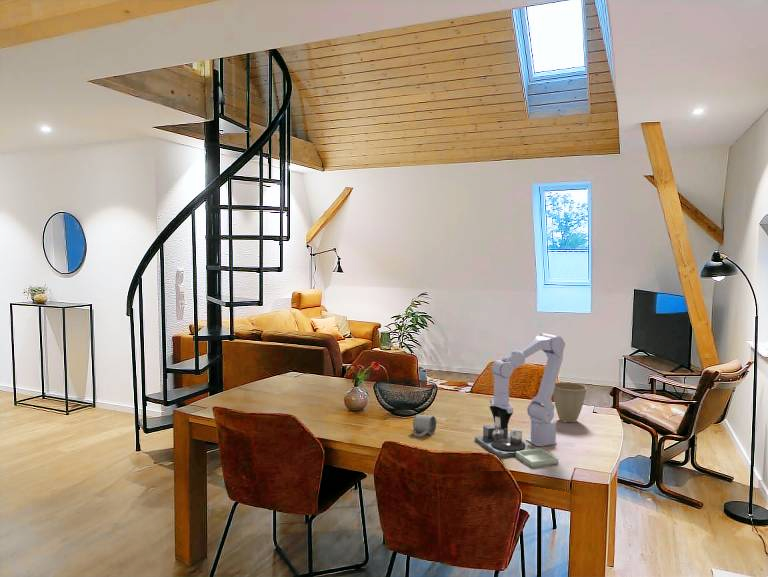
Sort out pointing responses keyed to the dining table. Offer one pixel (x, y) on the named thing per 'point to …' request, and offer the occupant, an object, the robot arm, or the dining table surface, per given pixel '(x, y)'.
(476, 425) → the dining table surface
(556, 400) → the plant pot
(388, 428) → the dining table surface
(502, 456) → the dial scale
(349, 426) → the dining table surface
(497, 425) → the cylinder
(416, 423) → the ceramic mug
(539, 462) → the tray
